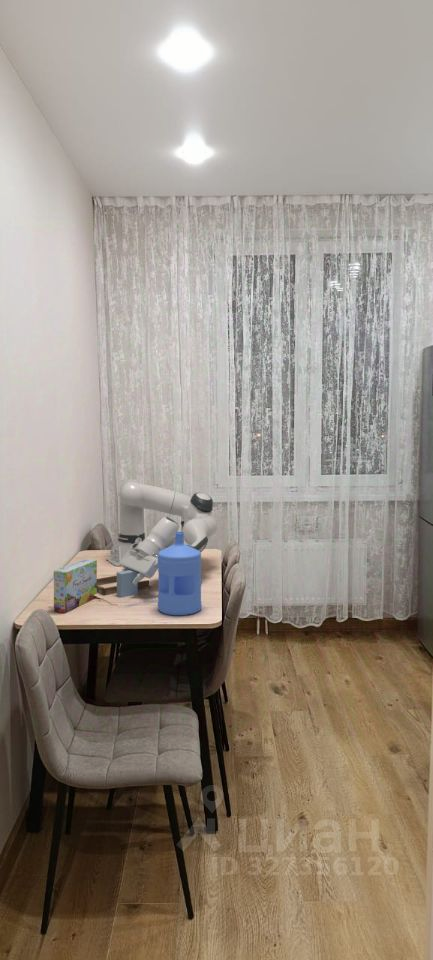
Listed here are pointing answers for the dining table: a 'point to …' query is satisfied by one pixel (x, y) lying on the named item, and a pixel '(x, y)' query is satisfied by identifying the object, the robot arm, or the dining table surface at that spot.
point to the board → (126, 583)
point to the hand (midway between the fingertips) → (126, 581)
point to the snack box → (75, 585)
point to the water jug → (179, 578)
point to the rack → (114, 589)
